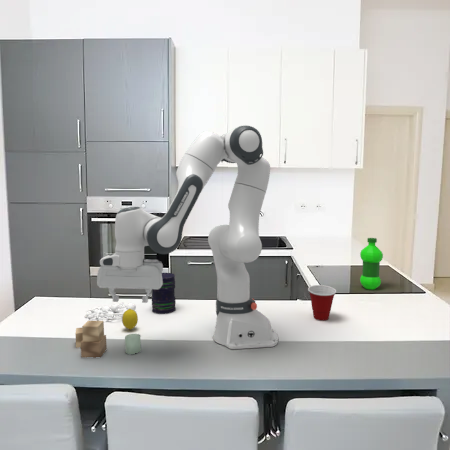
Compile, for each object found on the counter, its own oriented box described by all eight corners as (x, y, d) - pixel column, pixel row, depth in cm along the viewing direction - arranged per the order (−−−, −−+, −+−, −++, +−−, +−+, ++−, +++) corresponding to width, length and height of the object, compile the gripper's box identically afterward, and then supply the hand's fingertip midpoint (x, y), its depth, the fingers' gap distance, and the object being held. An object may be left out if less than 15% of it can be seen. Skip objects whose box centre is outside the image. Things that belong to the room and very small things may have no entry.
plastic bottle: (355, 288, 203) (357, 238, 200) (365, 284, 211) (367, 236, 207) (374, 292, 196) (376, 240, 193) (384, 288, 203) (387, 238, 200)
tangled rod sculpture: (78, 324, 159) (76, 315, 158) (93, 309, 173) (92, 300, 172) (126, 324, 157) (125, 314, 156) (137, 309, 171) (136, 300, 170)
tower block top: (104, 335, 132) (103, 320, 132) (98, 342, 127) (98, 326, 127) (88, 335, 132) (88, 320, 132) (82, 341, 128) (82, 326, 127)
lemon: (131, 325, 154) (131, 305, 153) (141, 329, 150) (140, 308, 149) (119, 330, 150) (118, 309, 149) (128, 333, 146) (128, 312, 145)
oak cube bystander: (92, 340, 141) (91, 326, 140) (92, 346, 136) (91, 331, 136) (76, 342, 139) (76, 328, 139) (76, 348, 135) (75, 333, 134)
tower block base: (106, 349, 133) (106, 335, 133) (100, 357, 127) (99, 342, 127) (88, 349, 134) (87, 334, 133) (81, 357, 128) (80, 342, 127)
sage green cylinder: (142, 348, 134) (141, 333, 134) (138, 354, 129) (138, 339, 129) (127, 348, 134) (127, 333, 134) (123, 354, 130) (123, 339, 129)
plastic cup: (310, 323, 156) (311, 292, 154) (304, 313, 167) (305, 285, 165) (339, 323, 156) (340, 292, 155) (330, 313, 167) (331, 284, 165)
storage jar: (173, 305, 178) (172, 271, 176) (177, 312, 168) (177, 277, 167) (150, 307, 175) (149, 273, 173) (153, 315, 165) (152, 279, 163)
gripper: (164, 257, 131) (164, 299, 132) (101, 256, 132) (102, 297, 133) (160, 261, 124) (160, 305, 126) (94, 260, 125) (95, 303, 127)
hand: (130, 301), depth 130 cm, fingers open, 8 cm apart
